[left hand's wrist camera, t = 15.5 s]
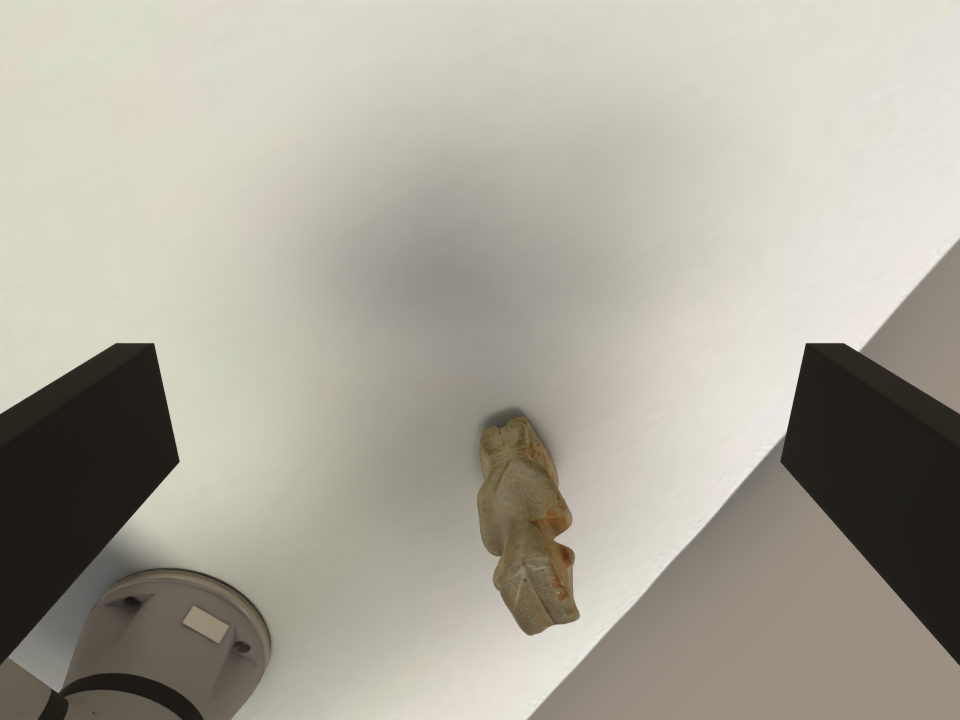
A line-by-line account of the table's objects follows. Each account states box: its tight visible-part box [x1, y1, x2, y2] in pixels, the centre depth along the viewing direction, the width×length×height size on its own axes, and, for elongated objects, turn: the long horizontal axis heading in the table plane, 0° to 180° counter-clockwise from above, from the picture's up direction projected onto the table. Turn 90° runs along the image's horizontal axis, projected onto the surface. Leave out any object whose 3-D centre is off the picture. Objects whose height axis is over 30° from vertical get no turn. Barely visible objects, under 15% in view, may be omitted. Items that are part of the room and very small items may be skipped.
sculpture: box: [477, 416, 580, 635], centre depth 39 cm, size 6×7×15 cm
